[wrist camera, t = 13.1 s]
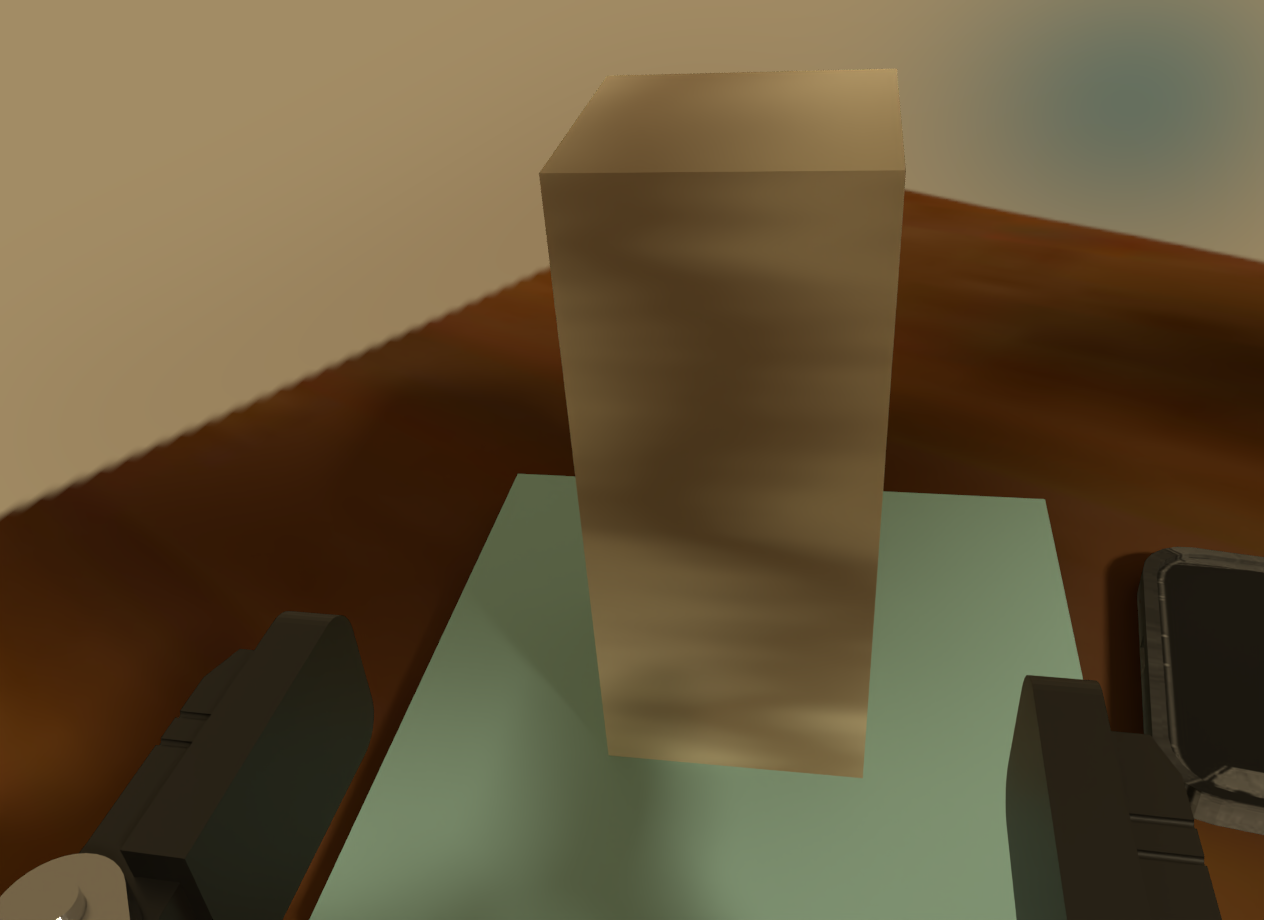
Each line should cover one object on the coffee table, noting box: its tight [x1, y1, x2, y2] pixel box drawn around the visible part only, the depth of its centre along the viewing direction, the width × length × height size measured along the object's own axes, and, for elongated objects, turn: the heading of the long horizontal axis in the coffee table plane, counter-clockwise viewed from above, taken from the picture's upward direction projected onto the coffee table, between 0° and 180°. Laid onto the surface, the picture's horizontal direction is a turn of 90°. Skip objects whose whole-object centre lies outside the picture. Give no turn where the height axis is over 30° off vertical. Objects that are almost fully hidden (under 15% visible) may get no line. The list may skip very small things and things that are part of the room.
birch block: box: [539, 69, 906, 778], centre depth 20 cm, size 5×5×12 cm
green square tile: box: [309, 474, 1083, 920], centre depth 24 cm, size 14×14×1 cm
